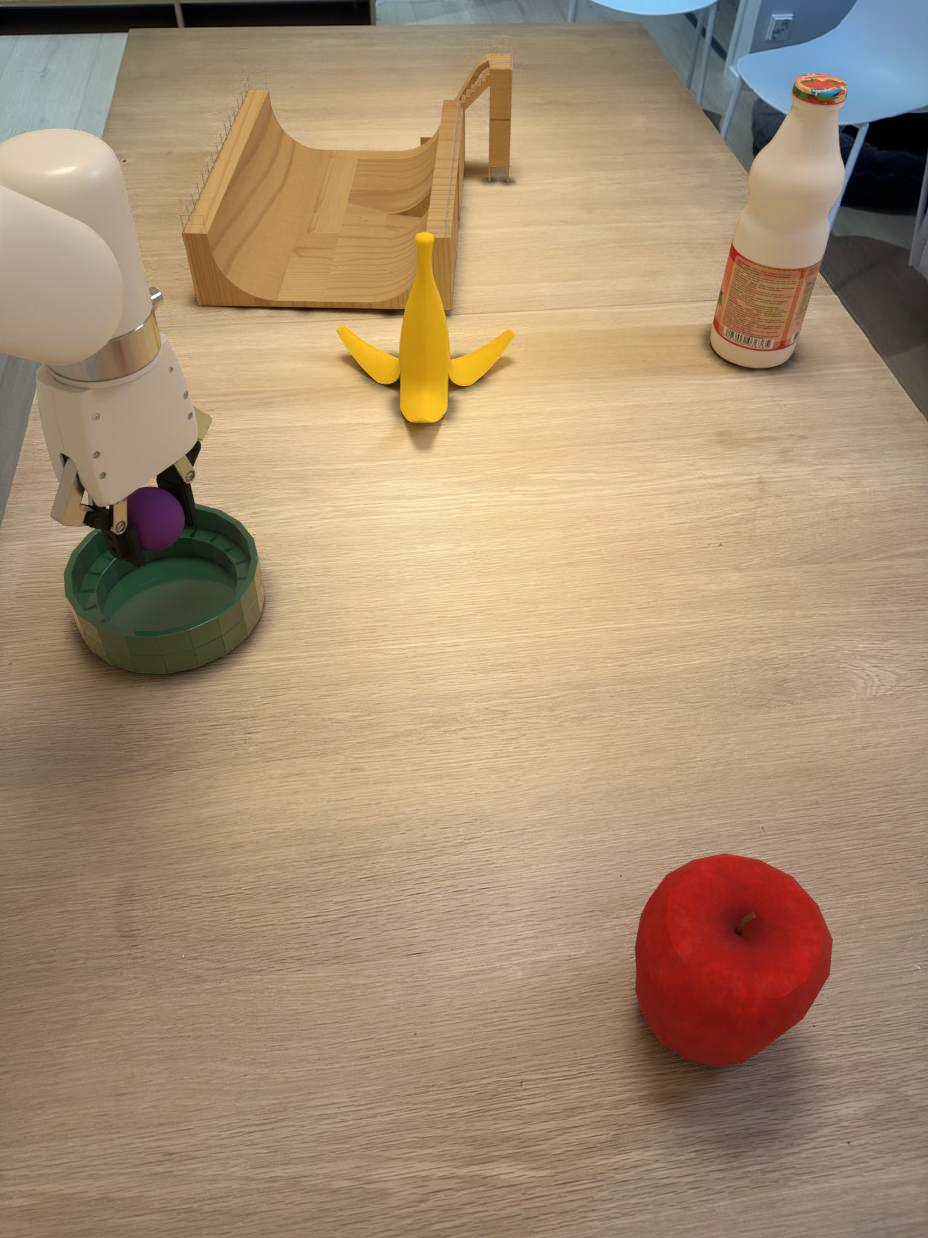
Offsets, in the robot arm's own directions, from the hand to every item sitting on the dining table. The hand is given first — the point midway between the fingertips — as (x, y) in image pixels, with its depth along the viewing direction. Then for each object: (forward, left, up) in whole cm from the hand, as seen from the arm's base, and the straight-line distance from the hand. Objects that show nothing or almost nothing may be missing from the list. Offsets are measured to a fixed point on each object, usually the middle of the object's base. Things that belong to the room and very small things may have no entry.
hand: (155, 536), depth 80 cm
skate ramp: (+48, +47, -8) cm, 68 cm away
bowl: (0, 0, -8) cm, 8 cm away
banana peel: (+34, +13, -8) cm, 37 cm away
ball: (0, 0, +2) cm, 2 cm away
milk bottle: (+70, +1, -8) cm, 70 cm away
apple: (+13, -50, -8) cm, 52 cm away
